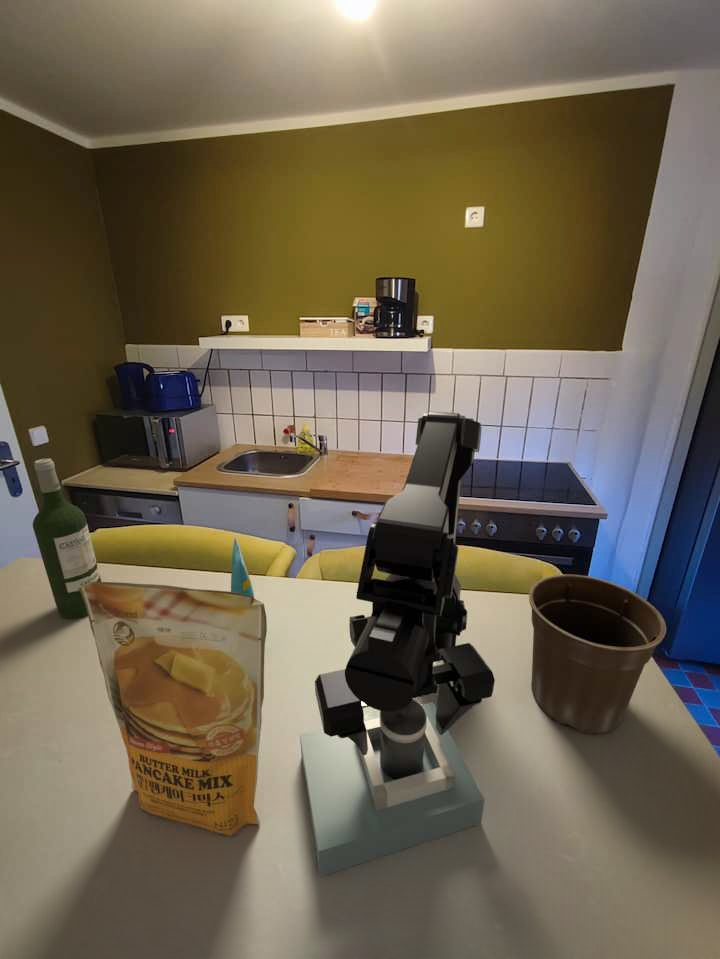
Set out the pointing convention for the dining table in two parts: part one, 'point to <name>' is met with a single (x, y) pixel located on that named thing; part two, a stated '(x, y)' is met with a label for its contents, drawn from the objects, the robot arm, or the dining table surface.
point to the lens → (402, 740)
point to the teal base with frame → (383, 796)
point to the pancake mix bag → (185, 696)
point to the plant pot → (589, 649)
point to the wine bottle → (63, 544)
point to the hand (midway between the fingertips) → (402, 741)
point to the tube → (240, 573)
